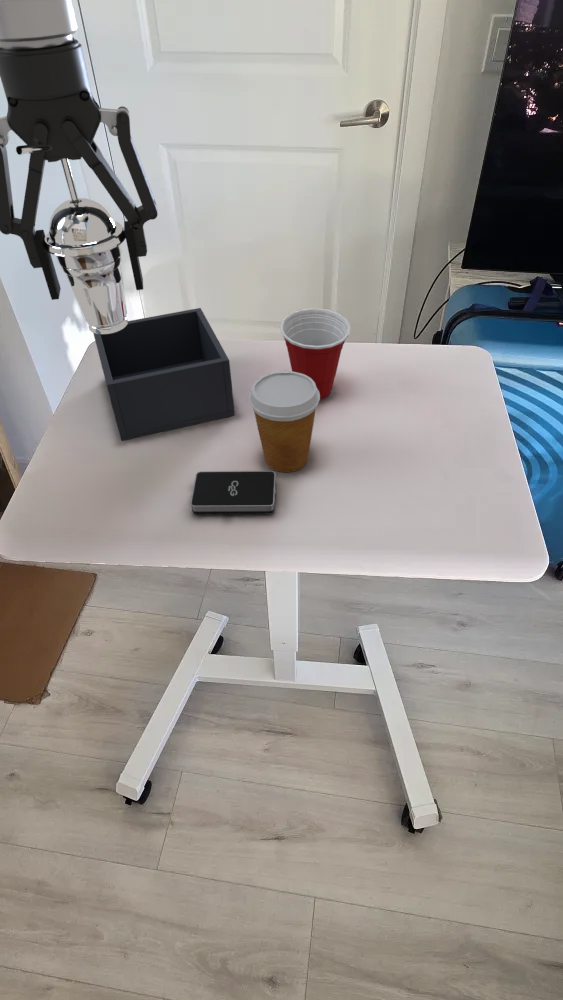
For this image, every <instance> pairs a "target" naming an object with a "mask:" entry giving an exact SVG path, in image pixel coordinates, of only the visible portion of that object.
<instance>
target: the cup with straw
mask: <svg viewBox="0 0 563 1000" xmlns="http://www.w3.org/2000/svg"><path fill="white" fill-rule="evenodd" d="M51 150H52V146H51V145H50V144H49V143H47V144H46V146H44V145H43V144H31V145H27V144H24V145H23V144H22V145H17V146H16V147H15V152H16V153H17V155H18V156H23V155H30V154H31V153H38V152H44V151H45V152H46V151H51ZM60 162H61V163H60V164H61V167H62V169H63V173H64V177H65V182H66V184H67V188H68V192H69V196H70V199H67V200H65V201H63V202H62V203H60V204H59V205H58V206H57V207H56V208H55V209H54V210H53V213H52V214H51V216H50V219H49V220H50V221H49V225H48V232H47V233H46V234H45V239H44V241H45V249H46V250H47V251H48V252H49V253H50V254H51V255H53V256H55V257H56V259H57V262H58V264H59V266H60V267H61V269H62V272H64V274H65V276H66V278H67V281H68V283H69V286H70V288H71V290H72V292H73V295H74V297H75V300H76V302H77V305H78V307H79V309H80V311H81V313H82V316H83V318H84V321H85V322H86V324H88V331H90V332H91V333H96V334H110V333H114V332H117V331H120V330H122V329H123V328H125V327H126V325H127V324H128V321H129V320H128V318H127V314H128V310H127V302H126V293H125V285H124V277H123V270H122V261H123V260H122V259H123V258H122V251H123V250H122V244H123V243H124V242H125V241H126V237H125V232H124V225H123V224H121V223H120V222H119V221H116V220H115V218H114V216H112V214H111V213H110V211H109V210H108V209H107V208H106V207H105V205H102V204H101V202H100V203H99V202H98V201H96V200H94V199H91V198H86V197H79V195H78V192H77V188H76V185H75V181H74V177H73V173H72V170H71V165H70V160H69V159H61V160H60Z"/></svg>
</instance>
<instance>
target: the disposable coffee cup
mask: <svg viewBox="0 0 563 1000" xmlns="http://www.w3.org/2000/svg"><path fill="white" fill-rule="evenodd" d="M320 400H321V399H320V393H319V391H318V389H317V388H316V384H315V382H314V381H313V380H312V379H311V378H310V377H308V376H307V375H304V374H302V373H297V372H293V371H292V370H278V371H272V372H270V373H267V374H263V375H262V376H260V377H259V378H257V380H255V381H254V383H253V384H252V386H251V390H250V392H249V394H248V402H249V405H250V407H251V408H252V410H253V412H254V417H255V421H256V426H257V431H258V435H259V440H260V445H261V449H262V453H263V457H264V462H265V464H266V466H267V467H268V468H270V469H271V470H272V471H275V472H279V473H293V472H296V471H299V470H301V469H302V468H304V467H305V466H306V465H307V463H308V461H309V454H310V449H311V442H312V436H313V429H314V423H315V416H316V410H317V407H318V404H319V403H320Z"/></svg>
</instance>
